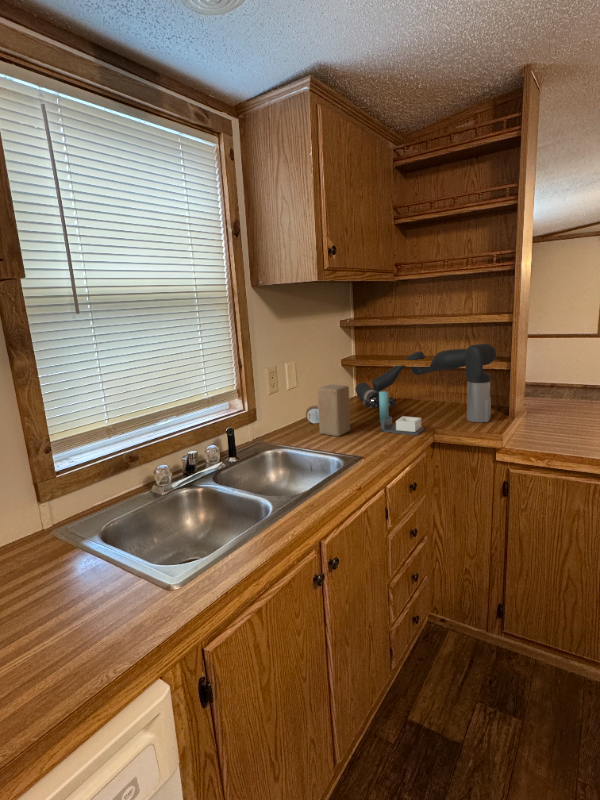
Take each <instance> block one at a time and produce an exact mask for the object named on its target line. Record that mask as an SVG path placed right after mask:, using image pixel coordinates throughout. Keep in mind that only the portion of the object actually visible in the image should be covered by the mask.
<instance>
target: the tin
mask: <svg viewBox="0 0 600 800" xmlns="http://www.w3.org/2000/svg"><path fill="white" fill-rule="evenodd" d="M305 419H306V420H307V421H308V423H311V424H313V425H319V424H318V423H319V408H318V405H311V406H309V407H308V408H307V409H306V412H305Z"/></svg>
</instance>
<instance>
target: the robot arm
mask: <svg viewBox="0 0 600 800" xmlns="http://www.w3.org/2000/svg"><path fill="white" fill-rule="evenodd" d="M496 357H497V351H496V349H495V347H494V346H492V345H491V344H488V343H477V344H472V345H470V346H468V347H467V348H458V349H447V350H442V351H439V352H438V353H436V354H435V355H434V357H433V359H432V361H431V362H430V364H431V365H430V367H409V368H410V371H411V372H412V373H413V374H414V375H415V376H416V375H417V376H419V375H424V374H429V373H432V372H433V373H434V372H438V371H439V372H440V371H441V372H442V371H450V370H455V369H459V368H464V367H465V374H466V378H467V392H466V396H467V397H466V398H467V399H466V402H467V403H466V420H467V421H469V422H473V423H488V422H490V420H491V413H492V412H491V411H492V410H491V409H492V408H491V407H492V406H491V405H492V404H491V403H492V398H491V375H490V374H489V373H486V372H485V371H484V366H487V365H489V364H491V363H493V362H494V360H495V359H496ZM424 358H426V359H427V357H426V355H425V353H424V352H423V351H420V350H419V351H416V352H413V353H411V354H409V355H408V356H407V357H405V358H404V359H405V360H418V359H424ZM405 367H406V366H396V365H395V366H393V367H392V368H391V369H389V370H387V372H385V373H383V374H381V375H379V376H377V377H376V378H374V379H372V381H371V384H372V386H373V388H372V387H371V386H370V384H368V383H367V382H359V383H358V384H356V385H355V388H354V389H355V392H356V394H357V397H358V399H359V400H360V401H361V403H363V406H364V407H365V408H373V409H377V408H379V392H380V391H385V389H387V388H389V387H390V386H392V385H393V384H394V383H395V382H396V381H397V378H398V377H399V375H400V373H401V372H402V371H403V370H404V369H405ZM396 405H397V399H396V398H394V397H392V396H390V397H389V396H388V406H390V407H392V408H393V407H395V406H396Z"/></svg>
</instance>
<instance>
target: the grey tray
mask: <svg viewBox="0 0 600 800" xmlns="http://www.w3.org/2000/svg"><path fill="white" fill-rule="evenodd" d="M424 430H425V427H422V426H421V428H419V429H418V430H417V431H416V432H410V431H400V430H396V424H393V417H392V416H389V417H387V418H385V419H384V420H382V421H381V423H380V432H381V433H388V432H392V433H391V434H398V433H401V435H408V436H410V435H411V436H418V435H420V434H421V433H422V432H423V431H424Z"/></svg>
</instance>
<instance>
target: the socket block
mask: <svg viewBox="0 0 600 800" xmlns="http://www.w3.org/2000/svg"><path fill="white" fill-rule="evenodd" d="M395 425H396V430H400V431H410V432H416V431H417V430H418V429H419V428H421V427H422V417H416V416H405V415H402V416H401V417H400V418H398V419H397V420H395Z"/></svg>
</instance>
